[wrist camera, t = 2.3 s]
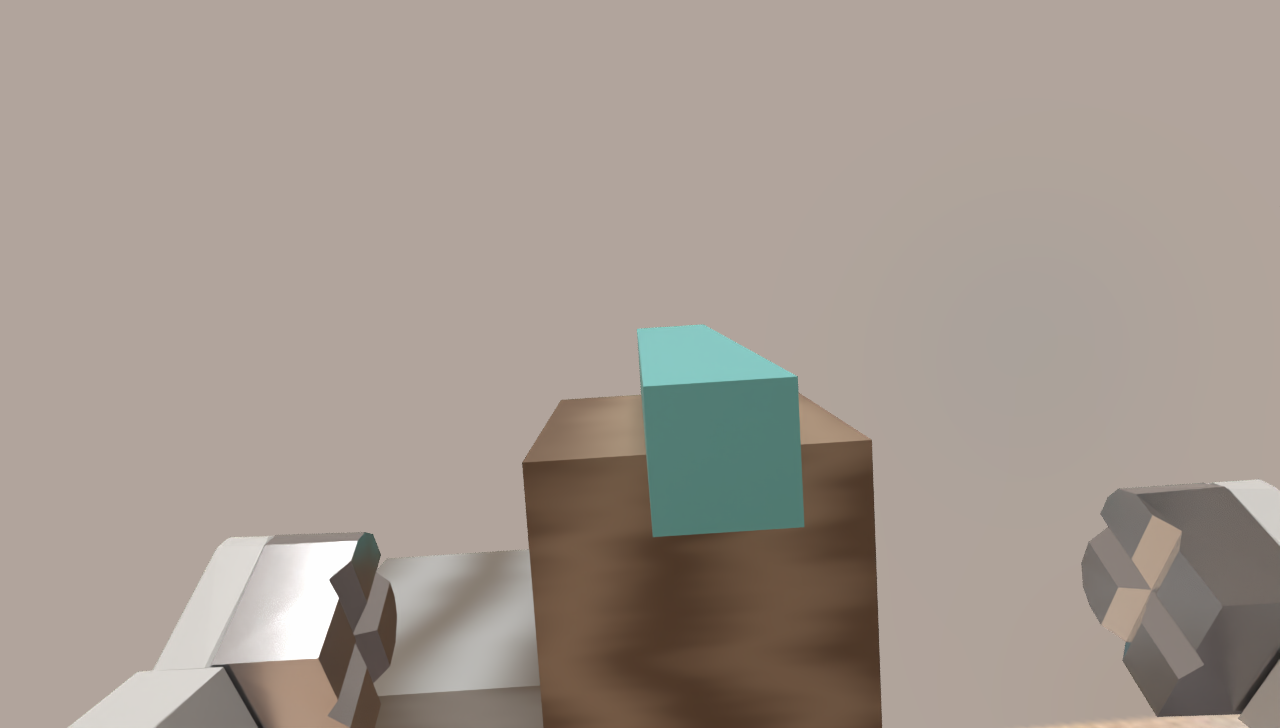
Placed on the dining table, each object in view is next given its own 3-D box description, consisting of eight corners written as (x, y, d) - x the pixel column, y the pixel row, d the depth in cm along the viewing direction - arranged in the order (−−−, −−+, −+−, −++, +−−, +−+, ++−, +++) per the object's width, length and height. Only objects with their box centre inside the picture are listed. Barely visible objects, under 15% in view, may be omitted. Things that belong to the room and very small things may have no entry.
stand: (808, 843, 45) (787, 385, 42) (896, 1121, 30) (871, 439, 27) (417, 869, 45) (372, 412, 42) (309, 1161, 30) (230, 481, 27)
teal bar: (707, 390, 42) (703, 324, 42) (804, 527, 18) (797, 376, 18) (641, 394, 42) (637, 328, 42) (653, 536, 18) (643, 386, 18)
